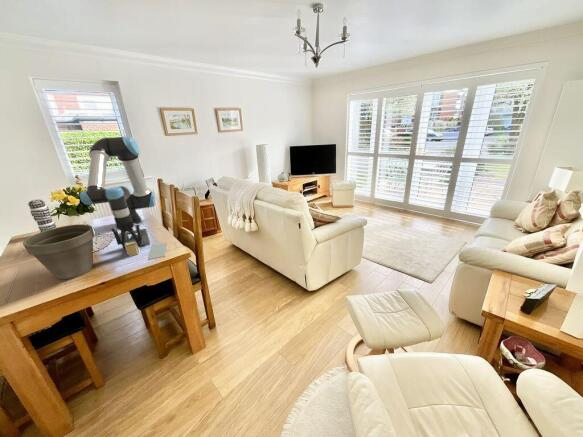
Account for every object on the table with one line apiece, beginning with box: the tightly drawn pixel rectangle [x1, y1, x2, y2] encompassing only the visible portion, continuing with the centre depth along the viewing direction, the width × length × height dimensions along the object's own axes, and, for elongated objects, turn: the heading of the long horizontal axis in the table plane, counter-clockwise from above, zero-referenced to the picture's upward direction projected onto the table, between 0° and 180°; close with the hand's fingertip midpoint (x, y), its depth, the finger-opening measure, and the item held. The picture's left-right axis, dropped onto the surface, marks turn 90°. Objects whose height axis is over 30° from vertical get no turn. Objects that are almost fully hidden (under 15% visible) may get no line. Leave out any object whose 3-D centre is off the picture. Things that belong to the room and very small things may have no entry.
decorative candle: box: [27, 199, 57, 233], centre depth 163 cm, size 9×9×25 cm
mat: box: [148, 242, 168, 261], centre depth 141 cm, size 18×8×1 cm, turn 22°
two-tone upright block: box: [125, 233, 143, 257], centre depth 142 cm, size 16×4×6 cm, turn 22°
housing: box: [118, 228, 151, 250], centre depth 145 cm, size 3×14×10 cm, turn 112°
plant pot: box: [22, 223, 95, 280], centre depth 119 cm, size 25×25×22 cm
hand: (134, 252), depth 139 cm, fingers closed on two-tone upright block, 4 cm apart
